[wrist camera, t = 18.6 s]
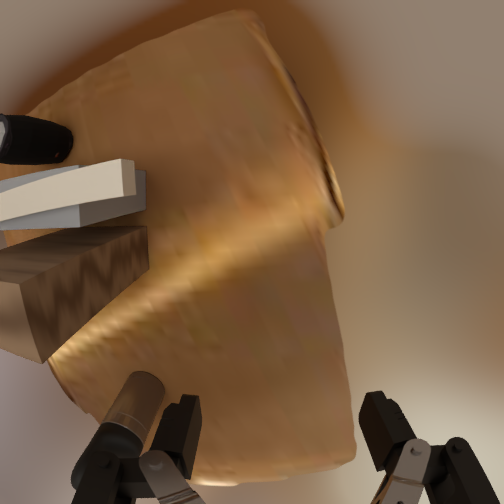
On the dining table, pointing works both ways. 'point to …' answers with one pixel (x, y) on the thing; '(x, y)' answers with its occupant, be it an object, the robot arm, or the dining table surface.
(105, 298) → the walnut pedestal
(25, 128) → the portable speaker
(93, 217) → the grey stand
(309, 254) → the dining table surface
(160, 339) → the dining table surface
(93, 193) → the cream bar
